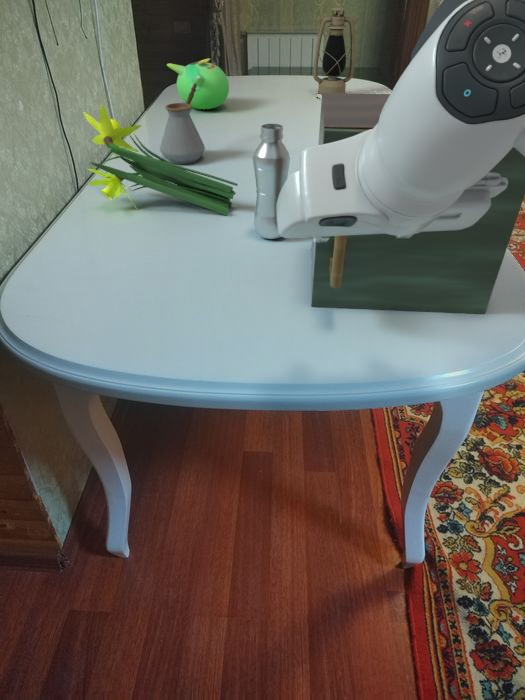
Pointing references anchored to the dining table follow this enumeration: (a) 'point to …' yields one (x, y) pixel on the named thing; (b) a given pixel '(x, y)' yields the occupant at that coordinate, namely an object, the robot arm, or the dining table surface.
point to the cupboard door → (421, 257)
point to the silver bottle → (269, 178)
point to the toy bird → (202, 84)
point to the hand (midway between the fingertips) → (360, 233)
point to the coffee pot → (181, 134)
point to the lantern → (334, 52)
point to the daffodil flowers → (154, 171)
